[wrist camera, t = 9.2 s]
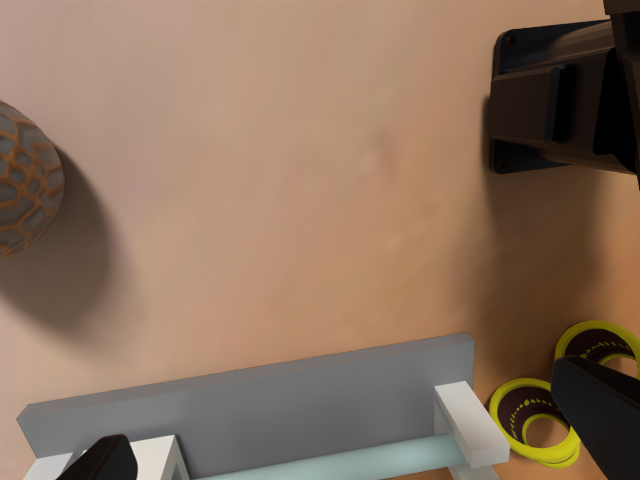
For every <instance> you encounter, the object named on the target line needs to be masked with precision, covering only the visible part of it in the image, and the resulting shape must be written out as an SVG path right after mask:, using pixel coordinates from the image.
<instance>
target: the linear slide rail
mask: <svg viewBox="0 0 640 480" xmlns="http://www.w3.org/2000/svg"><path fill="white" fill-rule="evenodd" d="M474 355H475V341H474V340H473V339H472V338H471V337H470V335H469V334H468V333H467V332H465V333H459V334H453V335H447V336H441V337H435V338H429V339H423V340H417V341H410V342H404V343H398V344H392V345H386V346H380V347H374V348H368V349H362V350H356V351H350V352H344V353H338V354H332V355H326V356H320V357H314V358H308V359H302V360H296V361H289V362H283V363H277V364H271V365H265V366H259V367H253V368H247V369H241V370H235V371H229V372H223V373H217V374H211V375H205V376H199V377H193V378H187V379H181V380H175V381H168V382H162V383H156V384H150V385H144V386H138V387H132V388H126V389H120V390H114V391H108V392H102V393H96V394H90V395H84V396H78V397H72V398H66V399H60V400H53V401H47V402H41V403H35V404H29V405H27V407H26V408H25V409H24V410H23V411H22V412H21V414H20V415H19V416H18V417H17V418H16V420H17V422H18V424H19V426H20V427H21V429H22V431H23V433H24V435H25V437H26V439H27V441H28V442H29V444H30V446H31V448H32V450H33V452H34V454H35V456H36V458H37V460H36V461H35V462H34V464H33V465H32V467H31V468H30V470H29V471H28V473H27V474H26V475H25V477H24V478H23V480H55V479H56V478H58V477H59V476H60V475H61V474H62V473H63V472H64V471H65V470H66V469H67V468H68V467H69V466H71V465H72V464H73V463H74V462H75V461H76V460H77V459H78V458H79V457H80V456H81V455H82V453H83V451H84V450H88V449H89V448H90V447H91V446H92V445H93V444H94V443H95V442H97V441H98V440H99V439H100V438H102V437H104V436H109V435H115V434H120V433H121V434H125V435H126V436H127V438H128V440H129V442H136V441H141V440H147V439H153V438H158V437H164V436H170V435H175V437H176V440H177V443H178V446H179V449H180V452H181V455H182V458H183V461H184V464H185V467H186V470H187V473H188V476H189V479H190V480H383V479H388V478H393V477H399V476H404V475H409V474H414V473H420V472H425V471H430V470H435V469H440V468H446V467H448V469H449V471H450V473H451V475H452V477H453V479H454V480H500V479H499V477H498V475H497V474H496V472H495V470H494V469H493V467H492V465H494V464H499V463H504V462H508V461H509V451H510V443H509V442H508V441H507V439H506V438H505V436H504V435H503V433H502V432H501V431H500V429H499V428H498V426H497V425H496V423H495V422H494V421H493V419H492V418H491V416H490V415H489V414H488V412H487V411H486V409H485V408H484V406H483V405H482V404H481V402H480V401H479V399H478V398H477V397H476V395H475V394H474V392H473V376H474Z"/></svg>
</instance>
